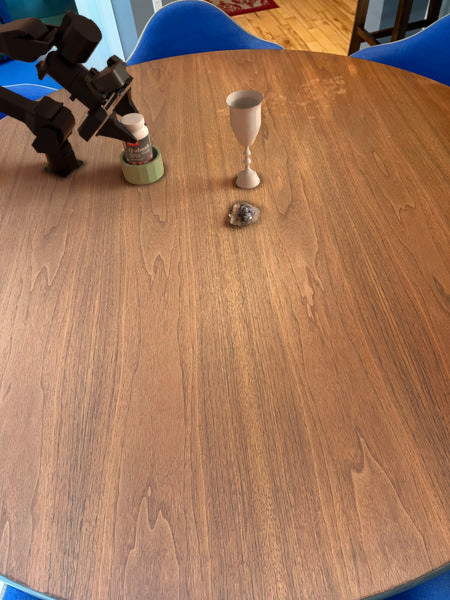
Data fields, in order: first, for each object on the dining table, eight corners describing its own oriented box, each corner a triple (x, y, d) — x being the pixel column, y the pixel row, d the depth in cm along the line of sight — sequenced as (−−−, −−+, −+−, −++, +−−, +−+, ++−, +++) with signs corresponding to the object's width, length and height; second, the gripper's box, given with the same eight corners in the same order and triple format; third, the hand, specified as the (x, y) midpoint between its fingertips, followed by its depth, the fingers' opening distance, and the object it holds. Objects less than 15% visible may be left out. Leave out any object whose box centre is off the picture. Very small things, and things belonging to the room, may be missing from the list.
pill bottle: (132, 172, 101) (122, 129, 94) (123, 159, 105) (113, 116, 97) (157, 163, 103) (149, 120, 95) (148, 151, 106) (139, 108, 99)
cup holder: (116, 177, 105) (111, 160, 102) (141, 157, 110) (137, 139, 107) (147, 189, 102) (142, 171, 98) (171, 167, 106) (168, 149, 103)
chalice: (261, 192, 98) (260, 109, 85) (228, 190, 100) (222, 108, 86) (266, 172, 103) (266, 90, 89) (235, 170, 104) (230, 88, 91)
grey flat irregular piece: (230, 231, 91) (229, 223, 90) (222, 206, 96) (221, 198, 95) (264, 225, 92) (264, 217, 90) (255, 200, 97) (254, 192, 96)
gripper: (75, 72, 81) (148, 135, 87) (113, 28, 93) (175, 87, 99) (48, 113, 88) (117, 169, 95) (87, 68, 100) (146, 120, 106)
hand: (140, 134), depth 99 cm, fingers closed on pill bottle, 6 cm apart
